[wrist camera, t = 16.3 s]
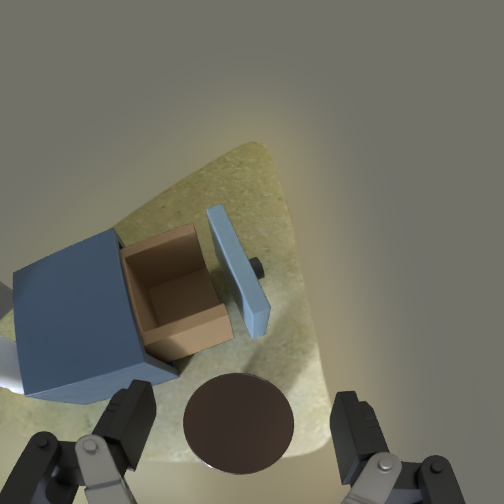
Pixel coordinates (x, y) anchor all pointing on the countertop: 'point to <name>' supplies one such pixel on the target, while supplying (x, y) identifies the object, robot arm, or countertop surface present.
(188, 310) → the drawer
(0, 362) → the bottle
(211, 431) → the pepper mill
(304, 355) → the countertop surface
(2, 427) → the countertop surface
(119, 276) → the cabinet
